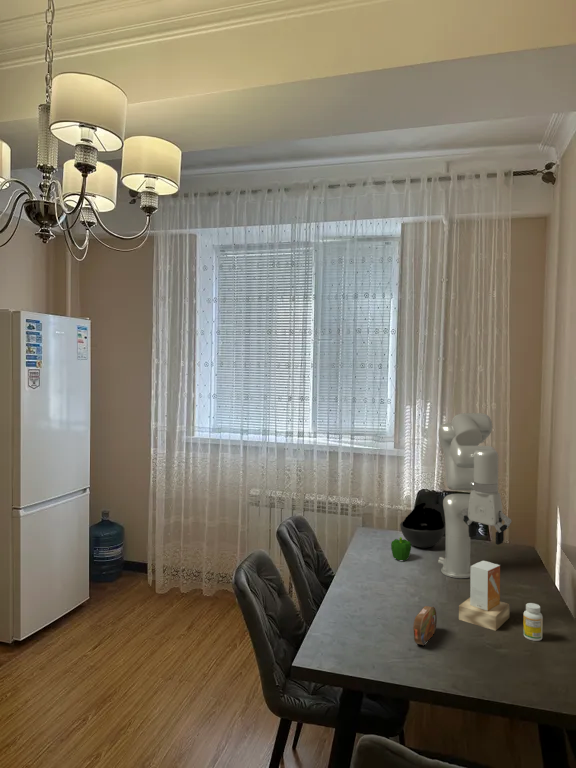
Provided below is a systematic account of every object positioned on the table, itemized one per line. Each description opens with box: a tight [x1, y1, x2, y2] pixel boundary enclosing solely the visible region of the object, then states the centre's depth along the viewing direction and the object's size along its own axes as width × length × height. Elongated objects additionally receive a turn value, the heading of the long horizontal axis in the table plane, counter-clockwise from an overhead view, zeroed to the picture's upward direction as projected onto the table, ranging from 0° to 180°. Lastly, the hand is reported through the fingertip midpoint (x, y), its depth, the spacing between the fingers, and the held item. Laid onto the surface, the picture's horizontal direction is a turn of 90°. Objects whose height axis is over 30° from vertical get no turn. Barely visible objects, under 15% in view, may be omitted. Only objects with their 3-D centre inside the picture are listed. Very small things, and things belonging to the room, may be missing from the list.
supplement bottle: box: [522, 602, 544, 642], centre depth 168 cm, size 5×5×10 cm
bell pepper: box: [390, 536, 412, 561], centre depth 238 cm, size 8×8×10 cm
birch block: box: [458, 597, 510, 632], centre depth 181 cm, size 12×12×5 cm
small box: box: [469, 560, 501, 611], centre depth 181 cm, size 8×6×13 cm
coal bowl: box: [399, 502, 445, 549], centre depth 255 cm, size 20×20×19 cm
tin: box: [412, 605, 438, 646], centre depth 168 cm, size 15×3×8 cm, turn 148°
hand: (485, 540), depth 181 cm, fingers open, 9 cm apart
